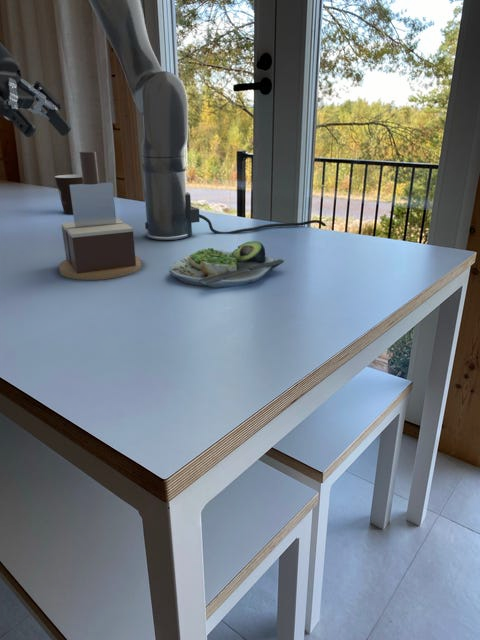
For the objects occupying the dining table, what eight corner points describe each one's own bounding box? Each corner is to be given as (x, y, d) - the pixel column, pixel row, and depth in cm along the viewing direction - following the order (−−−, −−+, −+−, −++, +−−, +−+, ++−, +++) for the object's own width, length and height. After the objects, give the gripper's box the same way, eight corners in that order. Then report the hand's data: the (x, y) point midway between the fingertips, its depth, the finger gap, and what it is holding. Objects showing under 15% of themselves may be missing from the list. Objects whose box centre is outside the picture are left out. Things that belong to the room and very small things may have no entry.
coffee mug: (86, 215, 131) (81, 177, 127) (55, 215, 131) (49, 177, 127) (98, 208, 142) (94, 173, 138) (69, 208, 142) (65, 173, 138)
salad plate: (252, 301, 69) (252, 270, 68) (147, 286, 75) (144, 258, 74) (289, 266, 86) (290, 241, 84) (200, 256, 92) (200, 232, 90)
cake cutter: (114, 222, 84) (107, 150, 80) (118, 224, 82) (111, 151, 78) (73, 225, 81) (63, 152, 77) (76, 228, 79) (66, 152, 75)
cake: (128, 254, 94) (124, 215, 91) (151, 272, 82) (148, 229, 79) (53, 263, 87) (47, 222, 84) (67, 284, 76) (60, 238, 73)
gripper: (-47, 29, 69) (30, 114, 70) (23, 43, 81) (88, 115, 82) (-65, 71, 73) (8, 151, 74) (5, 78, 85) (67, 147, 86)
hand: (50, 132), depth 78 cm, fingers open, 8 cm apart
